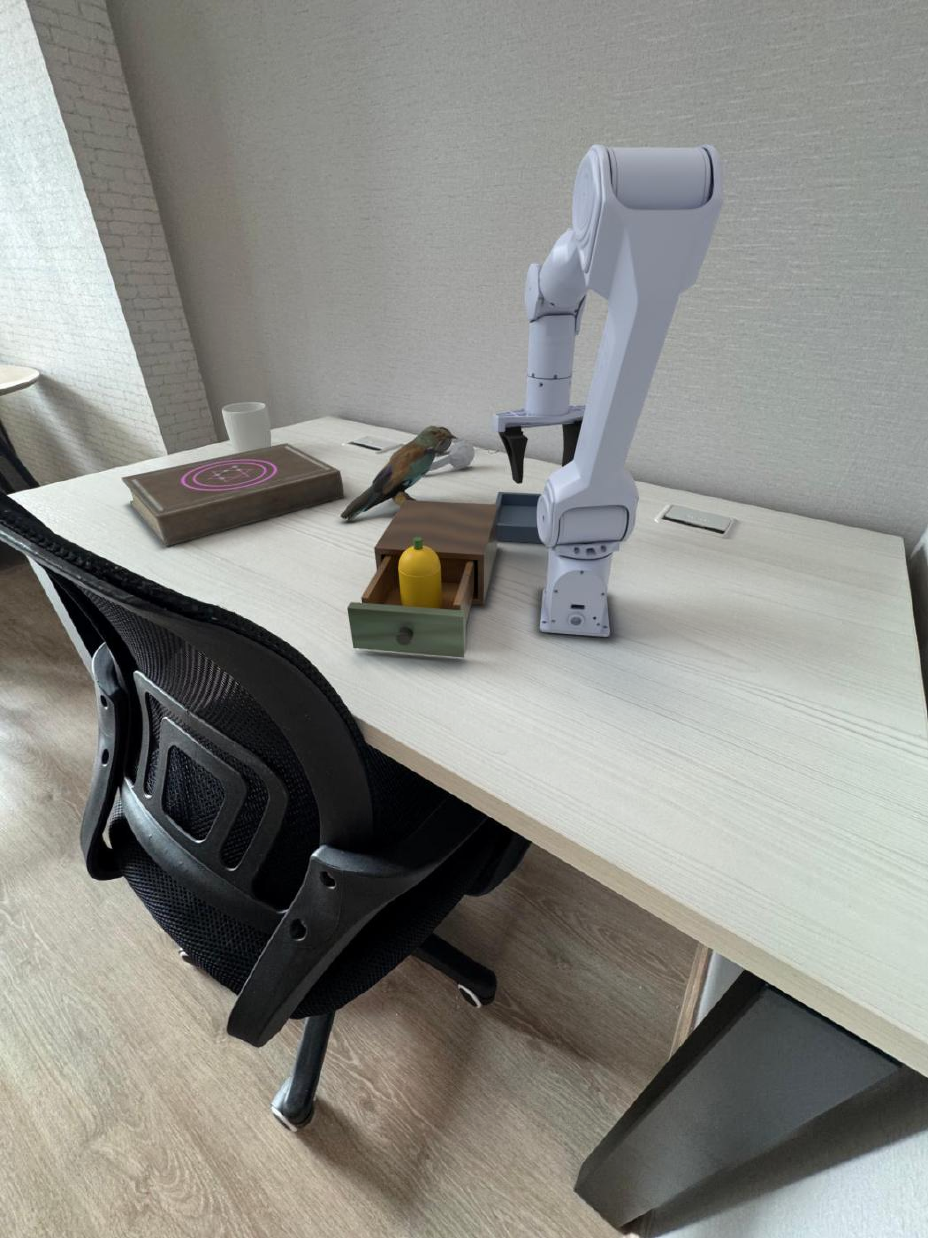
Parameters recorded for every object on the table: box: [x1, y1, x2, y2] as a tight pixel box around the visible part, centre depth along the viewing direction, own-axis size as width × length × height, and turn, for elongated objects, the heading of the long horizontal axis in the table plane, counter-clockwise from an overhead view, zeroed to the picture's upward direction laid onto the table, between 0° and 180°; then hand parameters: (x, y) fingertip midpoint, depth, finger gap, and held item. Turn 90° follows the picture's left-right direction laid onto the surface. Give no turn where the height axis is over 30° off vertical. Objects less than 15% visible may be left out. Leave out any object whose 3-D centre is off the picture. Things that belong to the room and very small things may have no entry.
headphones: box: [389, 426, 502, 472], centre depth 114 cm, size 17×6×20 cm
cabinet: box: [373, 499, 498, 606], centre depth 76 cm, size 16×14×7 cm
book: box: [121, 442, 344, 547], centre depth 99 cm, size 30×22×5 cm
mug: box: [221, 401, 272, 454], centre depth 121 cm, size 13×9×10 cm
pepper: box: [398, 537, 442, 609], centre depth 64 cm, size 5×5×9 cm
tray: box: [494, 491, 544, 544], centre depth 90 cm, size 14×16×3 cm
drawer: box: [346, 554, 476, 659], centre depth 65 cm, size 16×12×5 cm
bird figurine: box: [339, 425, 459, 523], centre depth 93 cm, size 13×10×20 cm
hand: (542, 478), depth 79 cm, fingers open, 7 cm apart
